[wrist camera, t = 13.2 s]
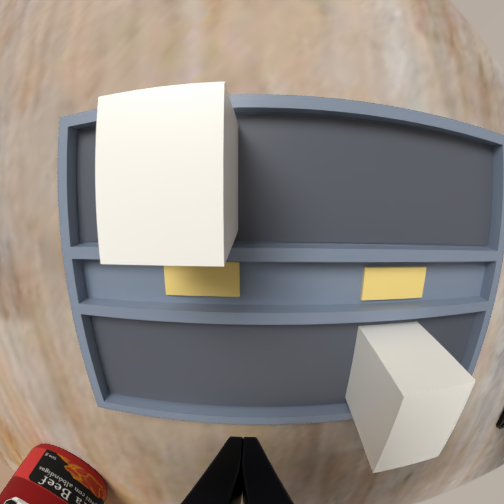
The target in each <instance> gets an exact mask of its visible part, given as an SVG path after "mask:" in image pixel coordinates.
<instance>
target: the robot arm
mask: <svg viewBox="0 0 504 504" xmlns="http://www.w3.org/2000/svg"><path fill="white" fill-rule="evenodd" d="M497 427H498V428H499V429H501V428H503V427H504V412H503V414H502V416H501V418H500V420H499V422H498V423H497ZM242 494H243V504H294V503H293V501H292V500H291V498H290V496H289V495H288V493H287V491H286V490H285V488H284V486H283V484H282V483H281V481H280V479H279V477H278V476H277V474H276V472H275V470H274V469H273V467H272V465H271V463H270V461H269V460H268V458H267V456H266V454H265V452H264V450H263V449H262V447H261V445H260V443H259V441H258V439H257V438H256V437H244V438H242V437H230V438H229V439H228V440H227V441H226V443H225V444H224V446H223V447H222V449H221V450H220V452H219V453H218V454H217V456H216V457H215V459H214V460H213V461H212V463H211V464H210V466H209V467H208V468H207V470H206V471H205V472H204V474H203V475H202V477H201V478H200V479H199V481H198V482H197V483H196V485H195V486H194V487H193V489H192V490H191V491H190V493H189V494H188V495H187V496H186V498H185V499H184V500H183V502H182V503H181V504H241V498H242Z"/></svg>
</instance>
